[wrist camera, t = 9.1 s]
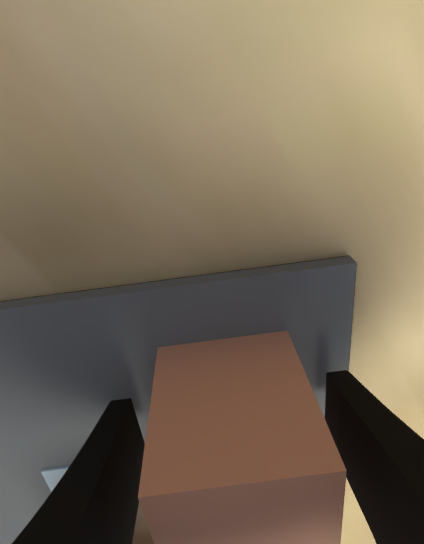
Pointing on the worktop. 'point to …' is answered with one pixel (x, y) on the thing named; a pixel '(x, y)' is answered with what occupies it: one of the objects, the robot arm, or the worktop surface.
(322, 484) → the terracotta block
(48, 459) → the mat
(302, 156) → the worktop surface
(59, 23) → the worktop surface
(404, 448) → the robot arm
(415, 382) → the worktop surface
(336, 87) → the worktop surface
